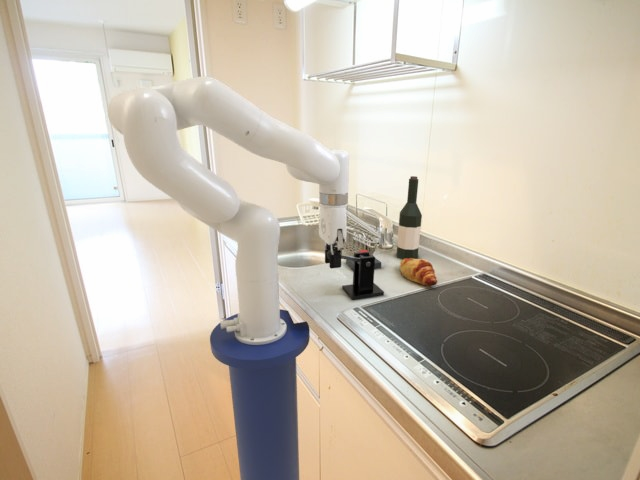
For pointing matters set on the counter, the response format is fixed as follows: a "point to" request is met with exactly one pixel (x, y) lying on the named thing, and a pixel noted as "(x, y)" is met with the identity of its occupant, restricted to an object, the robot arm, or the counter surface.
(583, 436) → the counter surface
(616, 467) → the counter surface
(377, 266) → the button housing
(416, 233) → the wine bottle
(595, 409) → the counter surface
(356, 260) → the ball knob lever
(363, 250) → the button
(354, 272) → the lever bracket
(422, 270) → the croissant
